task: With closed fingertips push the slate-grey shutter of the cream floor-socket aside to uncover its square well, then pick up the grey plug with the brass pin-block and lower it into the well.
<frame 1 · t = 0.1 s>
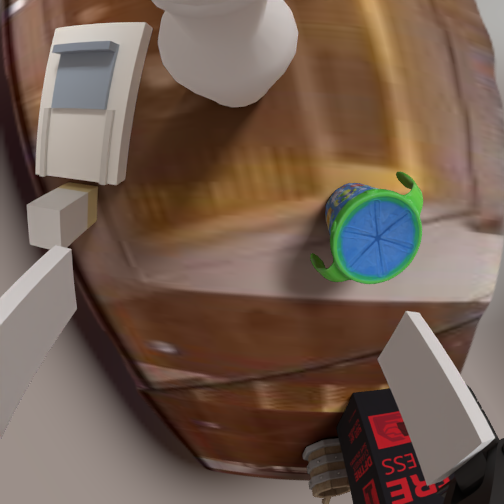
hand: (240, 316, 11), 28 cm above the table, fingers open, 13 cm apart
bottle: (236, 76, 31), on the table
socket: (95, 78, 30), on the table
shutter: (78, 75, 26), point 4 cm above the table, slide at 0.0 cm
tankard: (323, 452, 68), on the table
snack cup: (350, 209, 39), on the table
product box: (394, 404, 59), on the table
plug: (82, 201, 37), on the table
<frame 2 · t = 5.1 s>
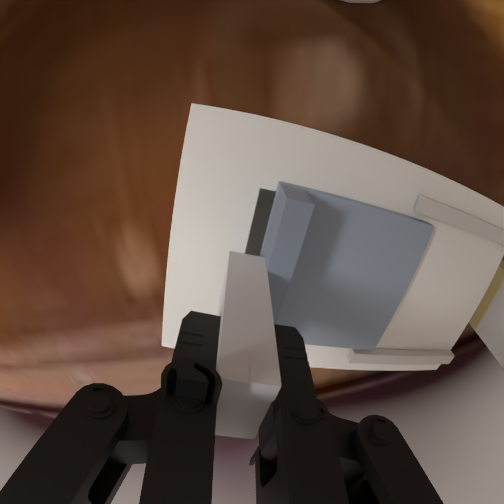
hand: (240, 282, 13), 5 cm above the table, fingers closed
socket: (303, 246, 17), on the table
shutter: (343, 292, 13), point 4 cm above the table, slide at 1.2 cm, touching gripper
plug: (486, 285, 19), on the table
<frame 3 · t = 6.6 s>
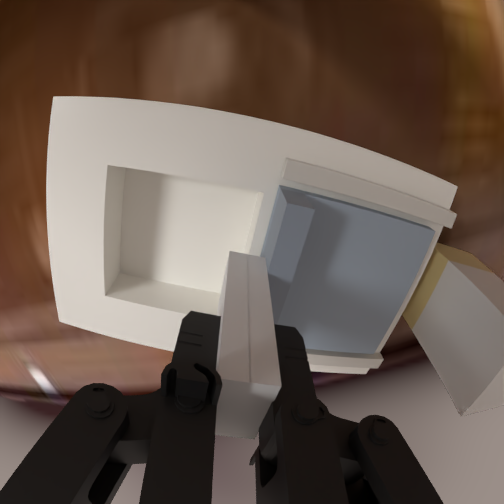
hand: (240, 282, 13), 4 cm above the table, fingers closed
socket: (183, 226, 16), on the table
shutter: (343, 297, 13), point 4 cm above the table, slide at 8.0 cm, touching gripper
plug: (434, 277, 18), on the table
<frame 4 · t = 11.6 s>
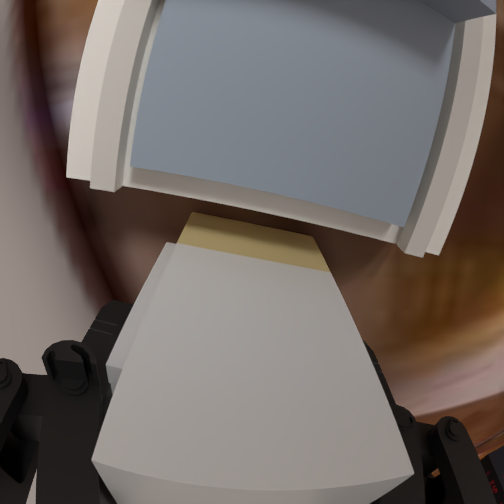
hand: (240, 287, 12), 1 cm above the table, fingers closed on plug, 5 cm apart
shutter: (321, 43, 6), point 4 cm above the table, slide at 8.2 cm
plug: (240, 277, 13), on the table, touching gripper
when the fingers open (3 cm above the table, at t = 17.7 s): plug drops 2 cm, resting on socket.
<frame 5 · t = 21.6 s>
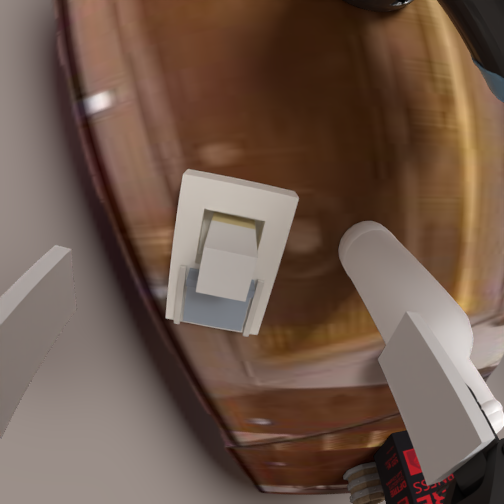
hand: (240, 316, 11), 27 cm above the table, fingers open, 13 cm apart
bottle: (364, 246, 40), on the table
socket: (229, 233, 38), on the table
shutter: (216, 306, 38), point 4 cm above the table, slide at 8.2 cm
tankard: (358, 473, 77), on the table
product box: (418, 436, 68), on the table
plug: (230, 234, 38), resting on socket
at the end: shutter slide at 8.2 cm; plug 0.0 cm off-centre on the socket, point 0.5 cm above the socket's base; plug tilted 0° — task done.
